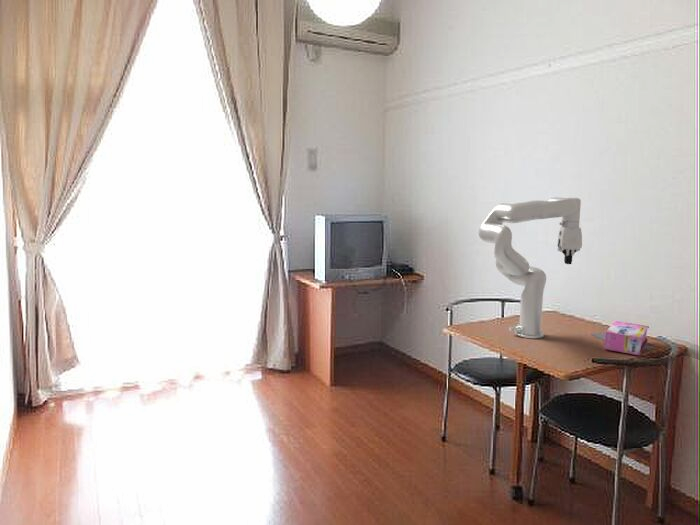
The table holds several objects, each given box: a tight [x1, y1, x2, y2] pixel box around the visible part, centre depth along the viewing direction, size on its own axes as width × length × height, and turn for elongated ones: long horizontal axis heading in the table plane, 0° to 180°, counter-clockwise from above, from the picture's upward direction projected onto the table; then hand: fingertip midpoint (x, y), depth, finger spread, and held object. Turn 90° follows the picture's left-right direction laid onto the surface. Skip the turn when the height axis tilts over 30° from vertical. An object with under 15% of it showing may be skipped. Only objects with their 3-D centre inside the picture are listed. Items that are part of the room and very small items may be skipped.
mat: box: [590, 332, 656, 351], centre depth 243 cm, size 14×24×1 cm, turn 10°
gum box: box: [603, 320, 650, 356], centre depth 235 cm, size 24×8×14 cm
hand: (567, 263), depth 256 cm, fingers closed
